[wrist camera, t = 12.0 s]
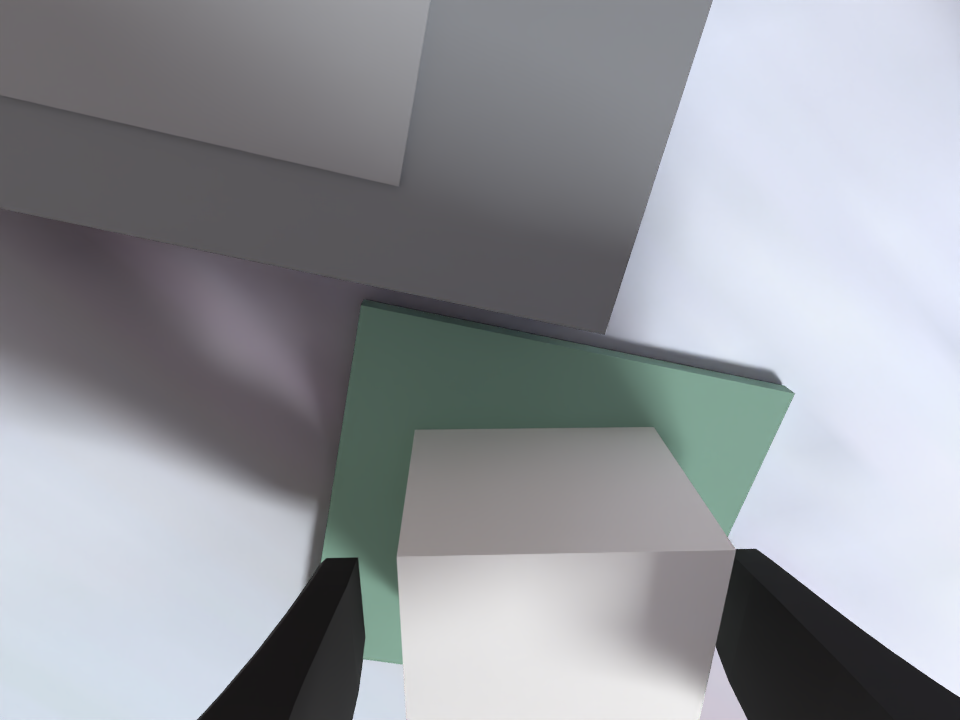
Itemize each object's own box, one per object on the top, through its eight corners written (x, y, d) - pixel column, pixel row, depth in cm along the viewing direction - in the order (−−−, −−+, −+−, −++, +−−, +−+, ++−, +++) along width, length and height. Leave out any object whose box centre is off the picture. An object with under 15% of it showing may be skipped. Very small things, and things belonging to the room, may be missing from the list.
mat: (784, 385, 12) (794, 393, 12) (647, 683, 15) (652, 697, 15) (364, 299, 11) (361, 304, 11) (310, 637, 14) (306, 651, 14)
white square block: (653, 426, 12) (736, 549, 8) (628, 609, 14) (688, 772, 10) (415, 430, 12) (396, 556, 8) (422, 614, 14) (410, 782, 10)
